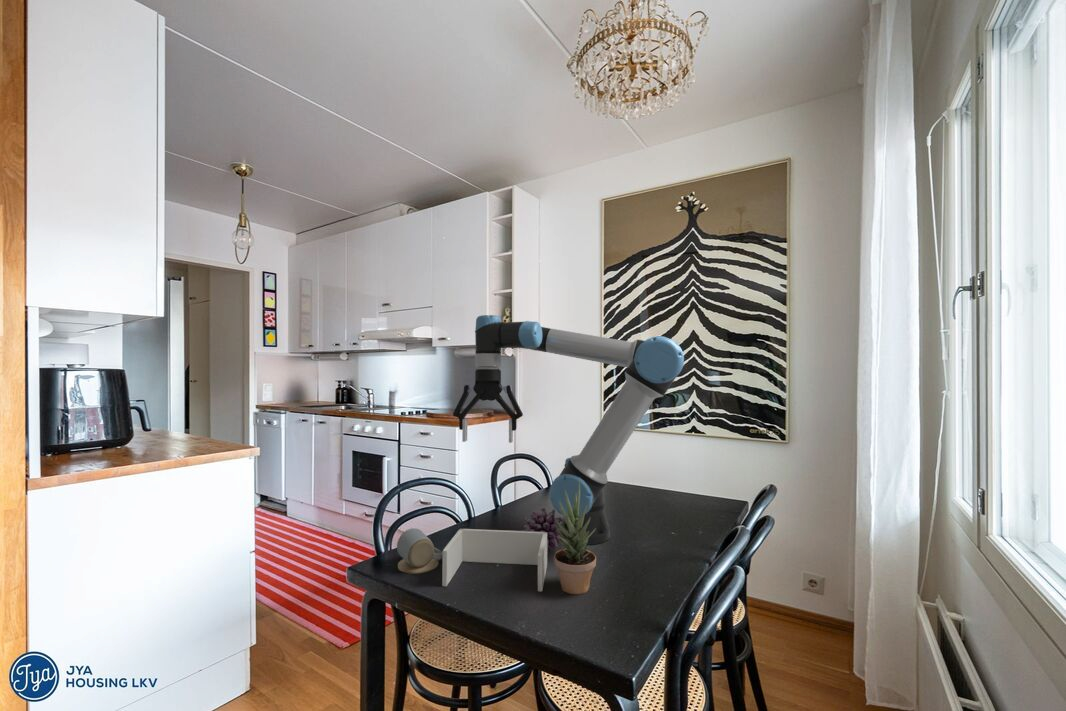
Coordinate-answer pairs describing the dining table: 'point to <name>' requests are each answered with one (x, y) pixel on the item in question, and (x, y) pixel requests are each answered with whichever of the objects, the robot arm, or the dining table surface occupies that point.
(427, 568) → the coaster
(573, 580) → the potted plant
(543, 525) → the purple round cluster
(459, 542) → the white u-shaped wall
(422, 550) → the ceramic mug
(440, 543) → the dining table surface
